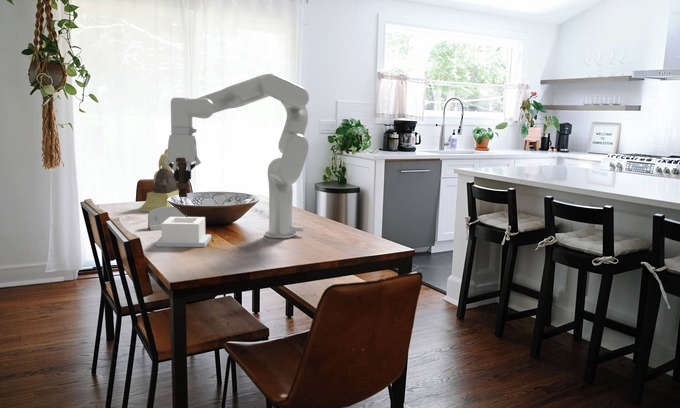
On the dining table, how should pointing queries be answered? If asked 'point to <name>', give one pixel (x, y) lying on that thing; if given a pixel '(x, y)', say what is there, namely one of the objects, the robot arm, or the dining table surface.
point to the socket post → (183, 232)
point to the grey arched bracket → (161, 216)
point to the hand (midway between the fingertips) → (182, 180)
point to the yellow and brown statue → (161, 187)
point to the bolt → (182, 177)
